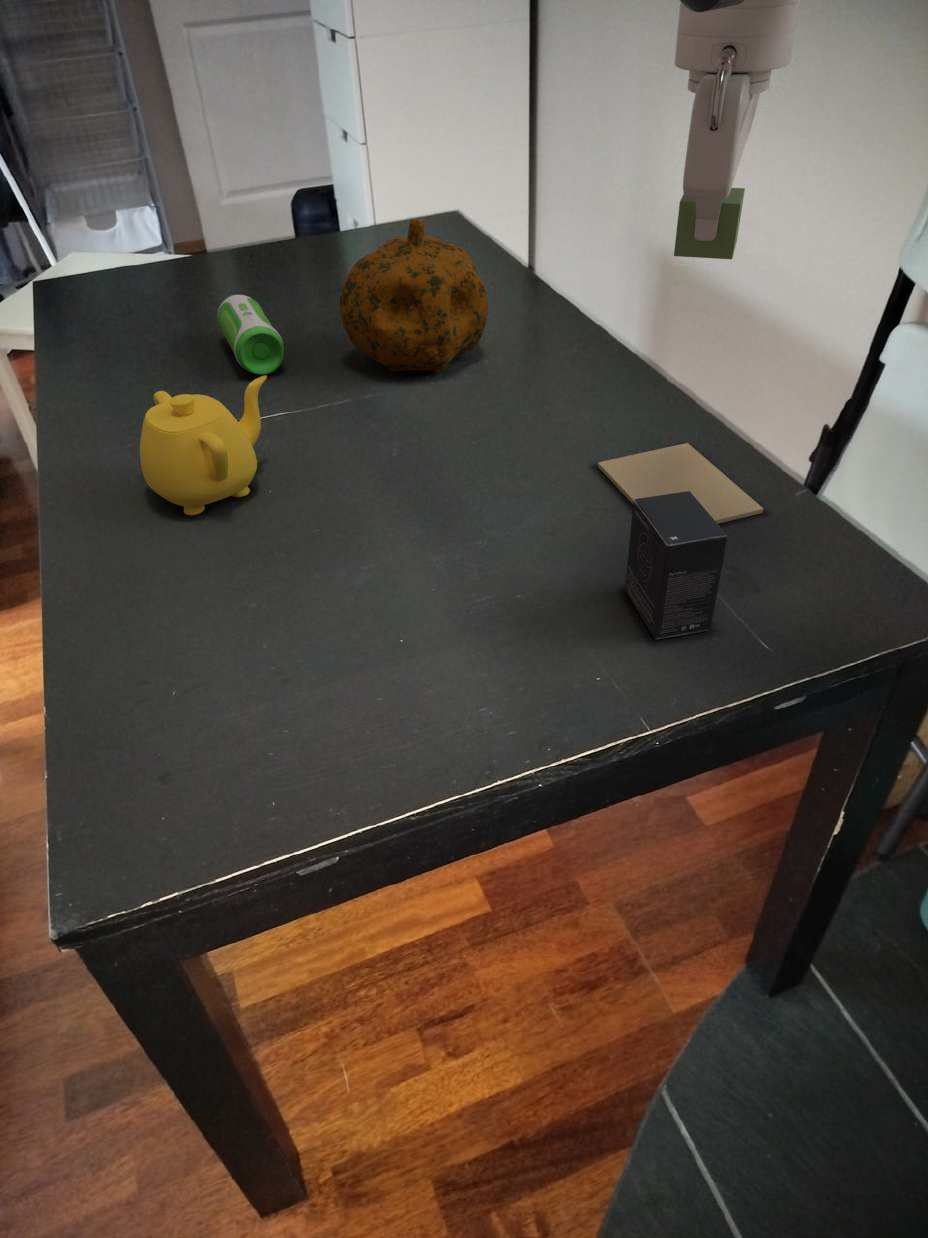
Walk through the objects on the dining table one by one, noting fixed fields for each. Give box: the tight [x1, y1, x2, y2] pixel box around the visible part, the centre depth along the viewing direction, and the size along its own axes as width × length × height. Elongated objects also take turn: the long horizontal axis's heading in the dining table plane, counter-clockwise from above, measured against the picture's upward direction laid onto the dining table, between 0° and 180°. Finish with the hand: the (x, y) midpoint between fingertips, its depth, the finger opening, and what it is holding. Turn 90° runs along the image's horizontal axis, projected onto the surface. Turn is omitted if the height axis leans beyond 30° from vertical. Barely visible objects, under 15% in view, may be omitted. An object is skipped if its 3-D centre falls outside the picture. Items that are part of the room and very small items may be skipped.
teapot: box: [139, 375, 268, 516], centre depth 98 cm, size 14×14×12 cm
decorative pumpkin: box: [338, 218, 489, 372], centre depth 123 cm, size 20×21×20 cm
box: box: [624, 491, 729, 640], centre depth 78 cm, size 8×6×11 cm
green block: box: [673, 187, 746, 260], centre depth 75 cm, size 5×5×4 cm
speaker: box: [216, 294, 285, 376], centre depth 130 cm, size 18×7×8 cm, turn 23°
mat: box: [597, 442, 764, 525], centre depth 97 cm, size 16×12×1 cm
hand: (708, 227), depth 75 cm, fingers closed on green block, 5 cm apart
